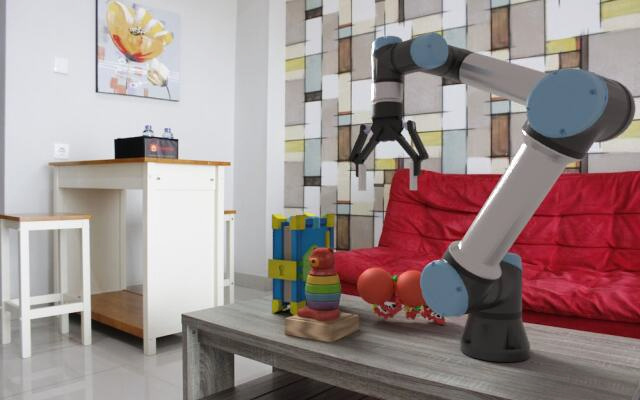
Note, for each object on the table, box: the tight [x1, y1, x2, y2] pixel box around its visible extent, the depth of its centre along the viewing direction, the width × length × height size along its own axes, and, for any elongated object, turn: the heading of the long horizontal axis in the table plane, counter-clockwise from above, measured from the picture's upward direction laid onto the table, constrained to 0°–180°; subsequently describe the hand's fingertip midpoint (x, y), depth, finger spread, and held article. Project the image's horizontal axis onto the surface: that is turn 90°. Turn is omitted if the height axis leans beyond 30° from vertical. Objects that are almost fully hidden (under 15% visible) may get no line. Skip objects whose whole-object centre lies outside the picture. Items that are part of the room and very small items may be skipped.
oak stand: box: [284, 311, 360, 343], centre depth 133 cm, size 14×14×4 cm
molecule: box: [356, 267, 446, 326], centre depth 143 cm, size 25×11×15 cm, turn 81°
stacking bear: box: [297, 247, 342, 321], centre depth 133 cm, size 11×10×18 cm
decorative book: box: [267, 212, 336, 316], centre depth 160 cm, size 14×23×30 cm, turn 145°
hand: (387, 190), depth 124 cm, fingers open, 13 cm apart
